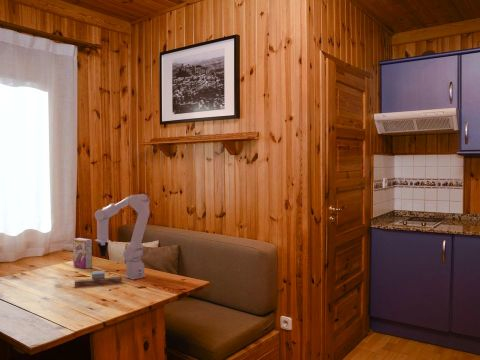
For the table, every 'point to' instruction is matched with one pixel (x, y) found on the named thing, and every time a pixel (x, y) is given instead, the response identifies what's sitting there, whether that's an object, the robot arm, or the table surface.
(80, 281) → the walnut batten
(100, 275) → the slate block
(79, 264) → the candy bar box
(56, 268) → the table surface
